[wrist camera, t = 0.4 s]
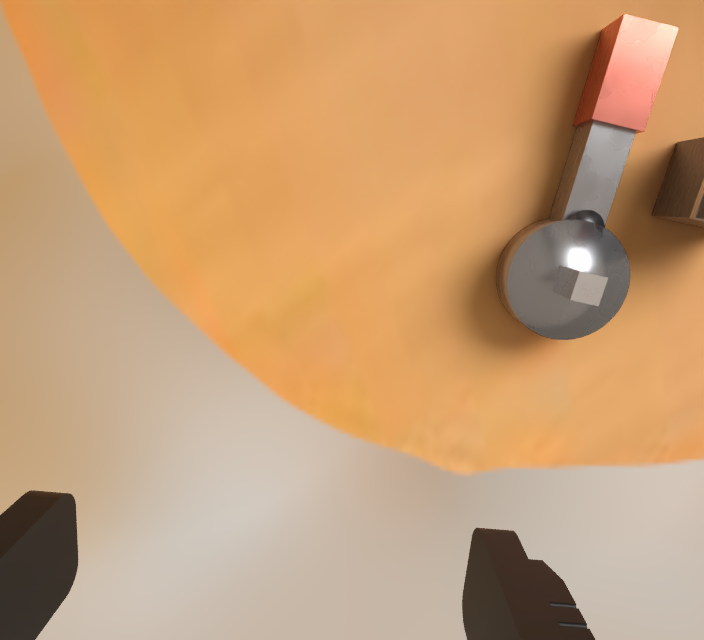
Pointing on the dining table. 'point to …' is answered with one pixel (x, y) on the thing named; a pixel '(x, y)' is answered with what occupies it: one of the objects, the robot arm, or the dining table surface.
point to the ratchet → (588, 194)
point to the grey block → (683, 185)
